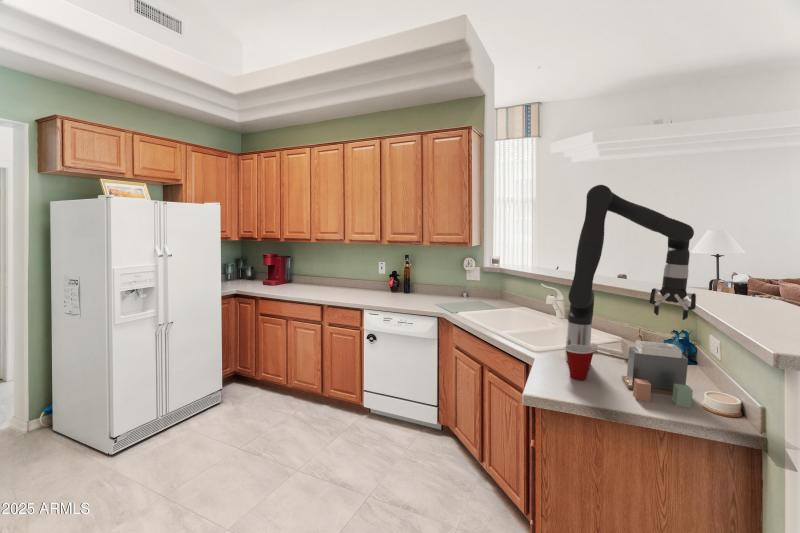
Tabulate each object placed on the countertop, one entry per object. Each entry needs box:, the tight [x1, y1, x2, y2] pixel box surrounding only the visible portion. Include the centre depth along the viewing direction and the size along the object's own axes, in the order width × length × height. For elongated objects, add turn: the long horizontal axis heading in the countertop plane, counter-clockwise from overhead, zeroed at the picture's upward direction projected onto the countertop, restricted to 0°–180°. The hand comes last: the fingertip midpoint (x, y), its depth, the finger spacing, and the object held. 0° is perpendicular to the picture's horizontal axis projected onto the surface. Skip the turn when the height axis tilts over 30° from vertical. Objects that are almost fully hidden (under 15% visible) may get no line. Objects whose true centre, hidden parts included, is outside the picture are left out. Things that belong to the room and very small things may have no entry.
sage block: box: [671, 384, 693, 408], centre depth 123 cm, size 4×4×6 cm
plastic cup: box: [563, 345, 596, 381], centre depth 143 cm, size 11×11×12 cm
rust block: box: [632, 379, 652, 403], centre depth 126 cm, size 4×4×6 cm
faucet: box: [590, 336, 630, 360], centre depth 172 cm, size 4×18×10 cm, turn 42°
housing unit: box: [621, 340, 689, 396], centre depth 135 cm, size 19×10×16 cm, turn 71°
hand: (670, 317), depth 144 cm, fingers open, 8 cm apart
